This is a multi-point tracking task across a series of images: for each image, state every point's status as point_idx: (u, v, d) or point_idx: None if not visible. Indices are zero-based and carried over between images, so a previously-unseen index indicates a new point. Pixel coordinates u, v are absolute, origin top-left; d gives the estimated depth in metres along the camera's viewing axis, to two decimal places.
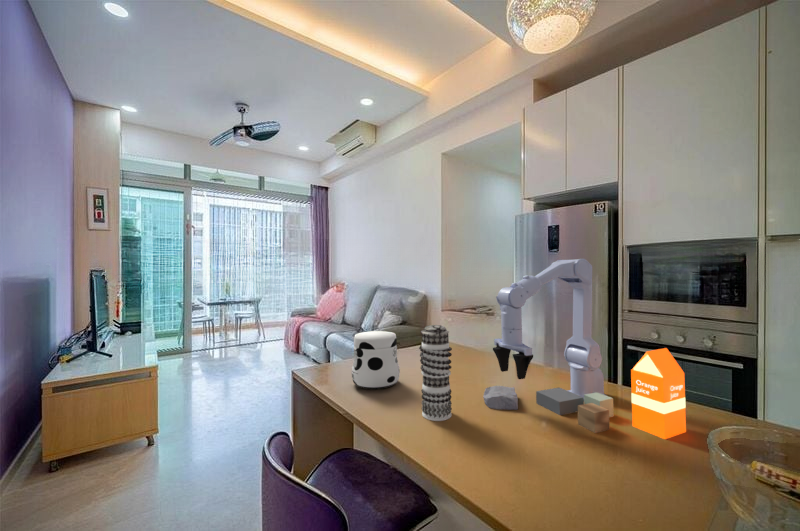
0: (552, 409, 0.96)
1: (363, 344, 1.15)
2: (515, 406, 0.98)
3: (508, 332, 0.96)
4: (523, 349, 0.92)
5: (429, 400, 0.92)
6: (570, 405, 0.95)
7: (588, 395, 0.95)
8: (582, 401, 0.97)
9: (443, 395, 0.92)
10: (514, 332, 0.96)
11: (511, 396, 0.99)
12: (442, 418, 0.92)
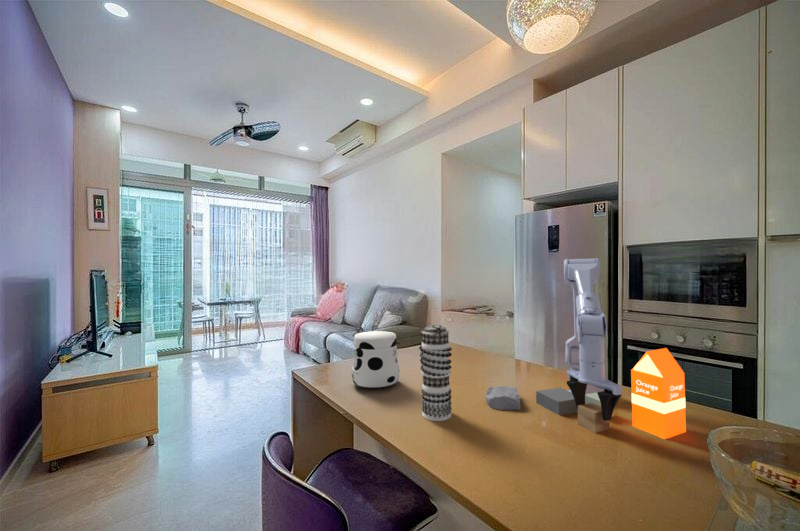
0: (551, 409, 0.96)
1: (363, 344, 1.15)
2: (518, 406, 0.98)
3: (590, 366, 0.85)
4: (611, 387, 0.81)
5: (429, 400, 0.92)
6: (570, 405, 0.95)
7: (588, 395, 0.95)
8: None
9: (443, 395, 0.92)
10: (597, 366, 0.84)
11: (514, 396, 0.99)
12: (442, 418, 0.92)
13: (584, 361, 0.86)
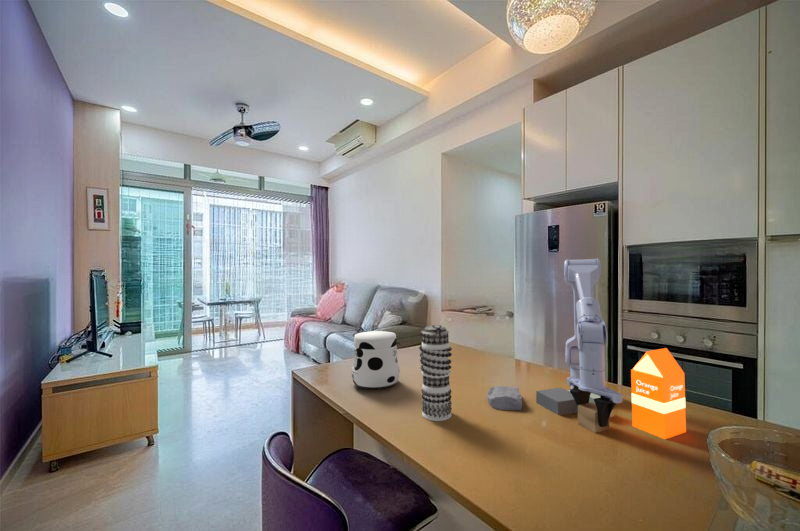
0: (551, 409, 0.97)
1: (363, 344, 1.15)
2: (519, 406, 0.98)
3: (590, 374, 0.85)
4: (611, 395, 0.81)
5: (429, 400, 0.92)
6: (569, 406, 0.95)
7: None
8: None
9: (443, 395, 0.92)
10: (598, 374, 0.84)
11: (516, 396, 0.99)
12: (442, 418, 0.92)
13: (584, 369, 0.86)
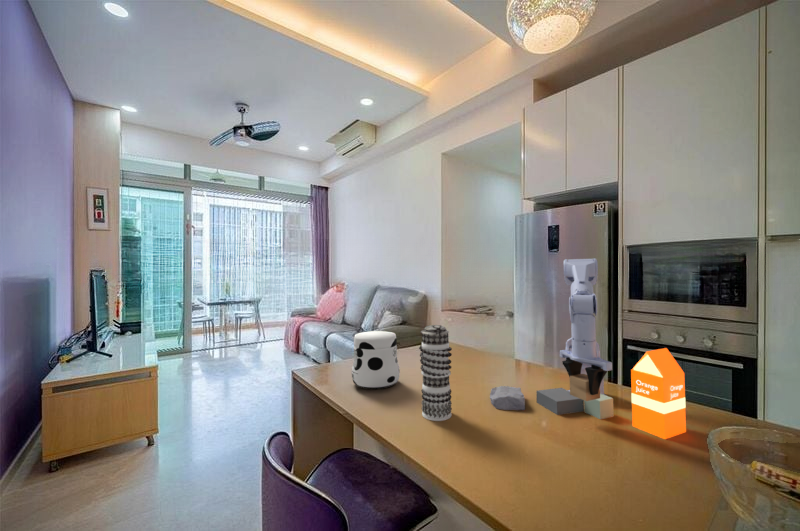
0: (550, 409, 0.97)
1: (363, 344, 1.15)
2: (522, 406, 0.97)
3: (582, 344, 0.87)
4: (602, 363, 0.84)
5: (429, 400, 0.92)
6: (569, 406, 0.95)
7: None
8: (582, 402, 0.96)
9: (443, 395, 0.92)
10: (589, 344, 0.87)
11: (518, 396, 0.98)
12: (442, 418, 0.92)
13: (576, 339, 0.89)
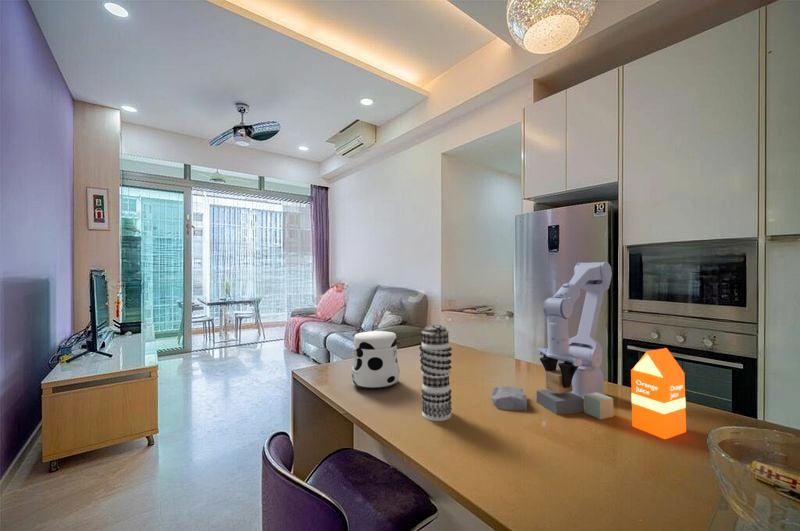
0: (550, 408, 0.97)
1: (363, 344, 1.15)
2: (524, 407, 0.97)
3: (556, 342, 0.98)
4: (572, 360, 0.94)
5: (429, 400, 0.92)
6: (568, 406, 0.95)
7: (588, 395, 0.95)
8: (582, 402, 0.96)
9: (443, 395, 0.92)
10: (562, 342, 0.97)
11: (520, 396, 0.98)
12: (442, 418, 0.92)
13: (551, 338, 0.99)
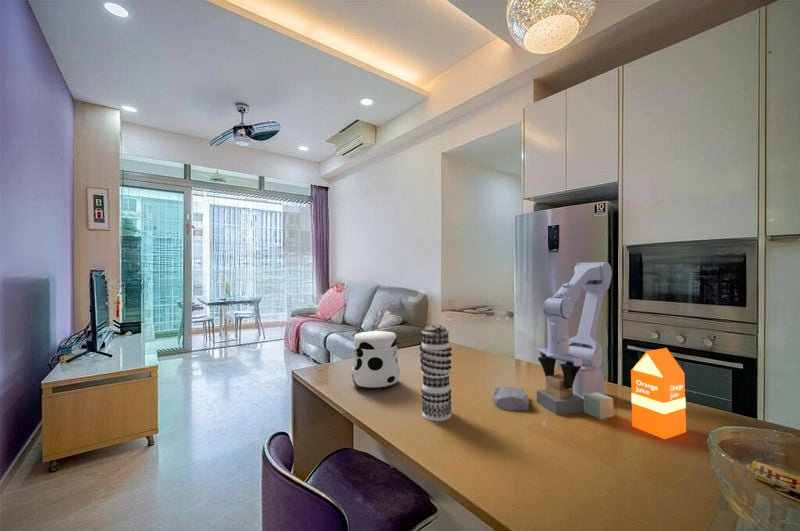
0: (550, 408, 0.97)
1: (363, 344, 1.15)
2: (526, 407, 0.97)
3: (556, 342, 0.98)
4: (572, 359, 0.94)
5: (429, 400, 0.92)
6: (568, 406, 0.95)
7: (588, 395, 0.95)
8: (582, 402, 0.96)
9: (443, 395, 0.92)
10: (562, 342, 0.97)
11: (522, 396, 0.98)
12: (442, 418, 0.92)
13: (551, 338, 0.99)
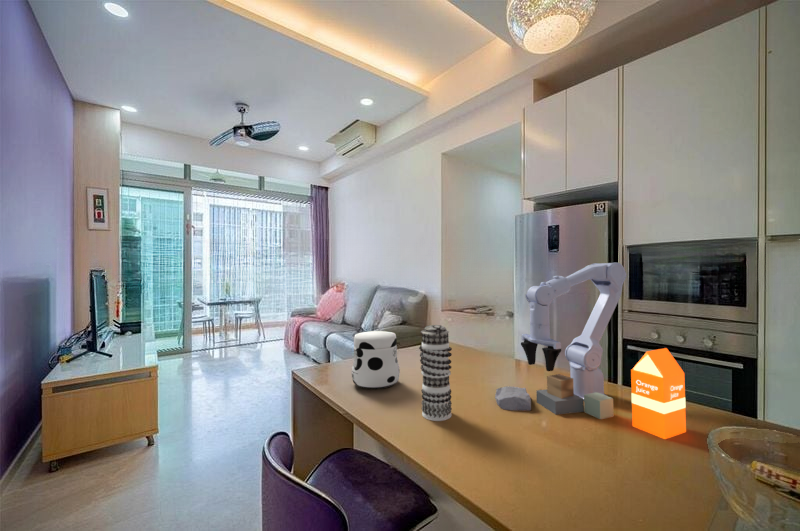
0: (549, 408, 0.97)
1: (363, 344, 1.15)
2: (528, 407, 0.97)
3: (537, 327, 1.03)
4: (552, 343, 1.00)
5: (429, 400, 0.92)
6: (568, 406, 0.95)
7: (588, 395, 0.95)
8: (581, 402, 0.96)
9: (443, 395, 0.92)
10: (543, 327, 1.03)
11: (524, 396, 0.98)
12: (442, 418, 0.92)
13: (533, 324, 1.05)
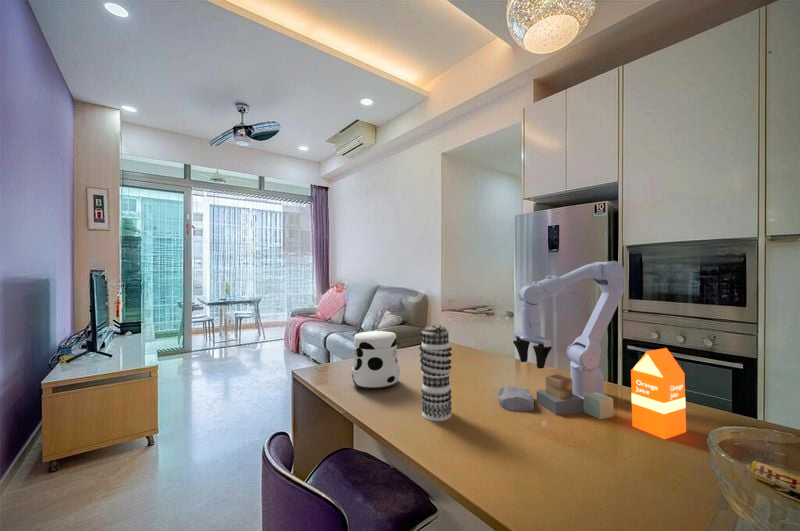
0: (549, 409, 0.97)
1: (363, 344, 1.15)
2: (531, 407, 0.97)
3: (528, 326, 1.07)
4: (543, 341, 1.03)
5: (429, 400, 0.92)
6: (568, 406, 0.95)
7: (588, 395, 0.95)
8: (582, 403, 0.96)
9: (443, 395, 0.92)
10: (534, 326, 1.06)
11: (527, 397, 0.98)
12: (442, 418, 0.92)
13: (524, 322, 1.08)
